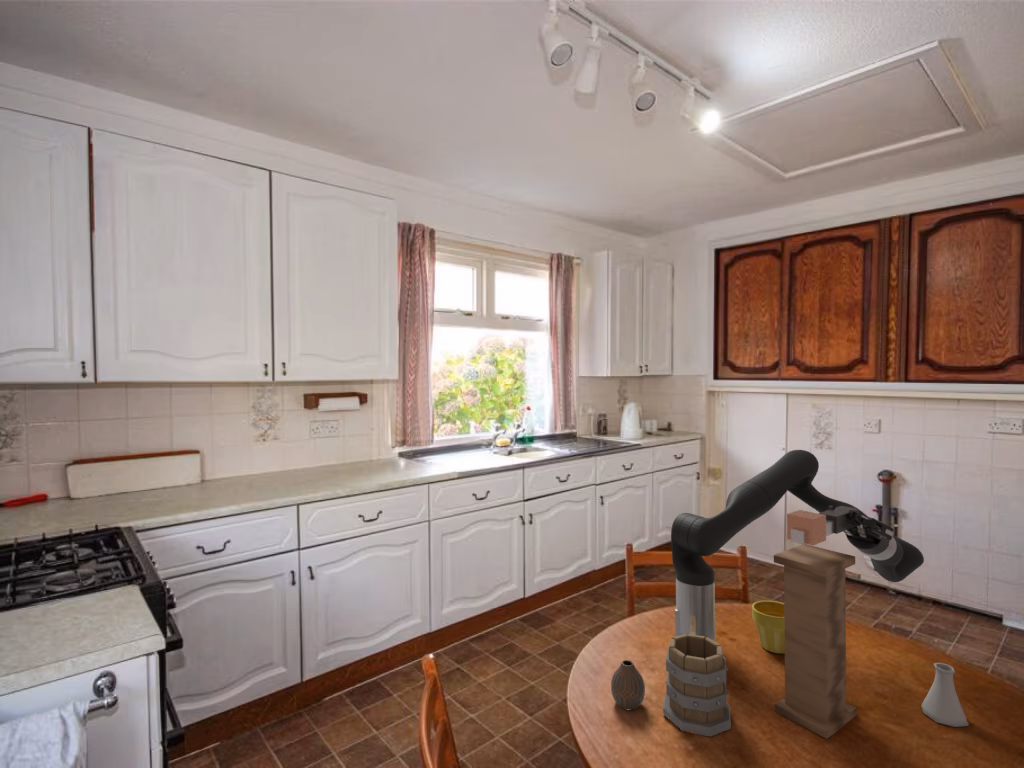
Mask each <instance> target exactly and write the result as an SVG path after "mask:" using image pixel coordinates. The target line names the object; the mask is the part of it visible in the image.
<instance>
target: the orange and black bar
mask: <svg viewBox="0 0 1024 768" xmlns="http://www.w3.org/2000/svg"><path fill="white" fill-rule="evenodd" d="M856 508H857V507H856ZM856 508H850V507H845V506H839V507H836V508H834V509H830V510H827V511H824V512H821V513H819V512H818V513H817V512H811V511H808V510H803V509H798V510H796V511H792V512H789V513H787V514H786V532H787V534H786V538H787V540H790V542H791V543H796V544H799V545H802V544H803V545H805V544H807V545H811V546H815V545H818V544H820V543H823V542H826V541H827V536H831V535H833V534H836V535H837V534H839V533H844V532H843V531H845V530H848V529H851V528H853V527H856V526H857V525H855V524H854V523H852V522H851V521H850V520H849V519H848V515H849V510H850V509H852V510H855V511H856V512H857V513H859V510H860V509H859V508H858V509H856Z"/></svg>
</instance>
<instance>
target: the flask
mask: <svg viewBox="0 0 1024 768" xmlns="http://www.w3.org/2000/svg"><path fill="white" fill-rule="evenodd" d="M933 666H934V668H935V676H934V680H933V683H932V685H931V687H930V688H929V691H928V693H927V694H926V697H924V700H923V702H922V703H921V704H920V705H921V709H922V712H923V714H925V715H926V716H927V717H928V718H930V719H931V720H933V721H934V722H936V723H938V724H941V725H946V726H950V727H954V728H960V727H970V726H969V725H970V724H969V722H968V719H967V717H966V714H965V711H964V710H963V707H962V705H961V702H960V700H959V696H958V695H957V694H958V693H957V692H956V688H955V682H954V674H955V673H956V671H955V670H956V669H955V668H954V667H953V666H952V665H950V664H948V663H947V664H946V663H943V662H934V663H933Z"/></svg>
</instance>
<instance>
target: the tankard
mask: <svg viewBox="0 0 1024 768" xmlns="http://www.w3.org/2000/svg"><path fill="white" fill-rule="evenodd" d="M668 645H669V646H668V648H667V651H666V657H665V658H664V660H665V668H666V669H665V671H666V672H667V675H666V676H667V677H666V680H665V685H666V693H664V698H663V705H662V706H663V707H662V714H664V715H665V716H666V717H667V718H669V719H670V720H671V721H672V722H673V723H674V724H675V725H674V724H673V723H672V722H671V721H670V720H669V719H668V720H669V721H670V722H671V723H672V724H673V725H674V726H676V725H677V726H678V727H679V728H680V729H679V728H678V727H677V726H676V727H677V728H678V729H679V730H682V732H684V731H686V732H685V733H689V732H693V733H692V734H694V733H695V735H698V734H700V736H703V735H705V736H704V737H708V736H709V738H710V737H713V736H716V735H718V733H719V734H720V733H723V731H724V732H725V731H728V730H731V729H732V725H731V724H732V721H731V705H729V704H728V703H727V702H728V701H727V700H728V699H727V698H728V697H727V696H728V695H729V692H728V691H727V672H728V671H729V669H728V667H727V661H726V660H727V658H726V657H725V656H724V651H723V650H724V649H723V646H722V644H720V643H718V642H717V641H716V640H715V641H713V640H711V639H710V638H708V637H707V638H706V637H705V636H699V635H697V618H696V617H695V616H691V617H690V634H687V635H686V634H683V635H680V636H676V637H675V636H673V637H671V638H670V639H669V644H668ZM664 715H663V716H664ZM665 716H664V717H665ZM666 717H665V718H666ZM667 718H666V719H667Z"/></svg>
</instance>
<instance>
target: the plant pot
mask: <svg viewBox="0 0 1024 768" xmlns="http://www.w3.org/2000/svg"><path fill="white" fill-rule="evenodd" d="M751 615H752V616H751V617H752V620H753V622H754V623H755V626H756V630H757V633H758V634H757V635H758V638H759V643H760V645H761V647H762V648H763V649H764V650H766V651H768V652H769V653H770V652H771V653H772V654H773V653H774V654H780V655H781V654H784V655H785V627H784V602H780V601H776V600H758V601H756V602H753V604H752V605H751Z"/></svg>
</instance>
